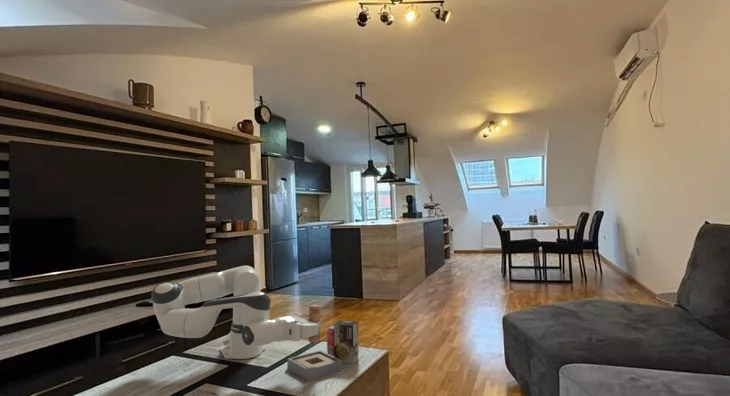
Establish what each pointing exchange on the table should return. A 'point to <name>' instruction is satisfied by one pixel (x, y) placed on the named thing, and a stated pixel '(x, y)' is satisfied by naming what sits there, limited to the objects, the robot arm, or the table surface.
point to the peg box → (314, 365)
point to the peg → (313, 317)
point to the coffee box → (346, 341)
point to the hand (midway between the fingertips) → (316, 321)
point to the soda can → (330, 340)
